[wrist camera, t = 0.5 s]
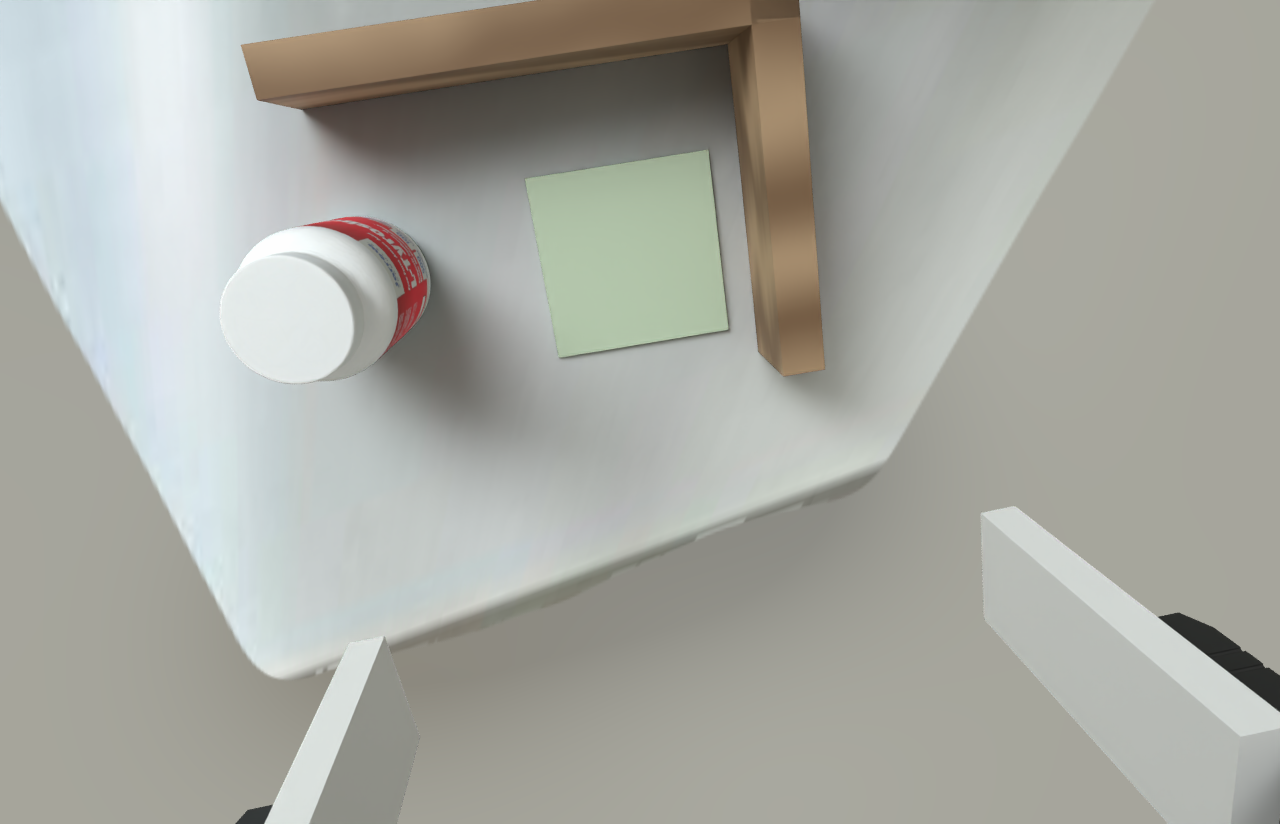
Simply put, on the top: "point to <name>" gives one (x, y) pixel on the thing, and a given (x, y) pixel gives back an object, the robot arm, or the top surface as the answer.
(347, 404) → the top surface
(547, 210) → the pad
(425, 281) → the pill bottle
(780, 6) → the corner barrier
